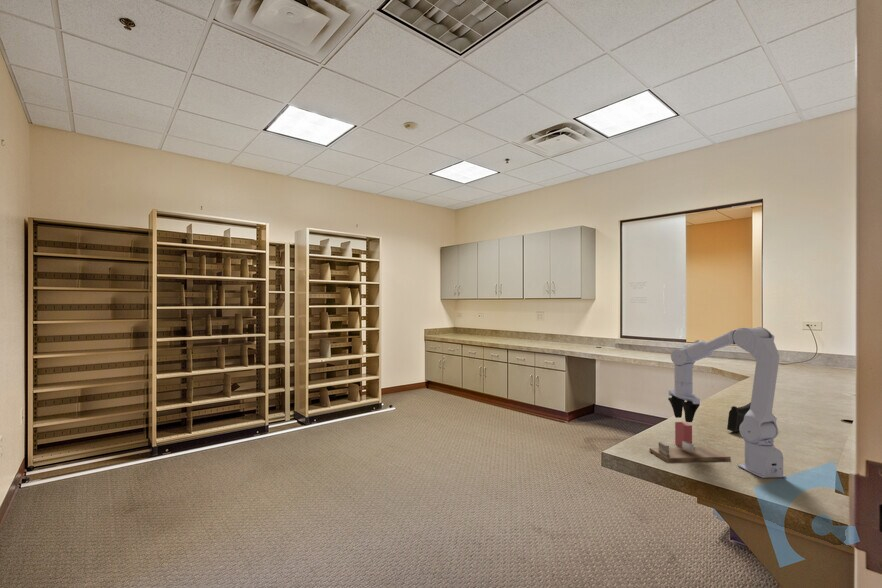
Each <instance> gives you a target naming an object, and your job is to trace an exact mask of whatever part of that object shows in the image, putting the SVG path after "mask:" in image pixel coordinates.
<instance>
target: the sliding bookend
mask: <svg viewBox="0 0 882 588" xmlns="http://www.w3.org/2000/svg"><path fill="white" fill-rule="evenodd" d="M694 447H695V446H694V443H692V444H691V443H689V442H687V441H682V450H684V451H686V452H688V453H690V454H694Z"/></svg>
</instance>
